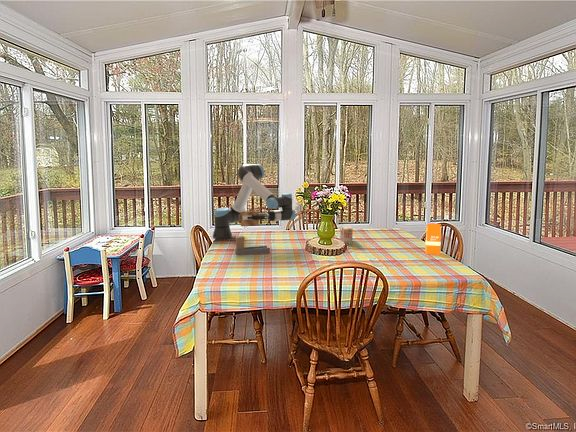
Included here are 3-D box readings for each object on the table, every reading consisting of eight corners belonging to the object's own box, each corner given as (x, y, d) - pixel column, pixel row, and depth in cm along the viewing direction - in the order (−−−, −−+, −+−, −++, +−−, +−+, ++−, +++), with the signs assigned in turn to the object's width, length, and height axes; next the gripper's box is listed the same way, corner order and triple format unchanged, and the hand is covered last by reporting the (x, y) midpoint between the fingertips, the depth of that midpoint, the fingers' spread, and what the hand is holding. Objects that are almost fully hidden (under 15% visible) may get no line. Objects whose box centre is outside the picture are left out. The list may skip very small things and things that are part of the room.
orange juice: (440, 254, 300) (441, 224, 297) (426, 254, 302) (427, 224, 299) (438, 251, 308) (440, 222, 305) (425, 251, 310) (426, 222, 307)
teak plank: (239, 226, 316) (239, 212, 315) (238, 225, 320) (238, 211, 318) (258, 225, 320) (258, 211, 319) (257, 224, 324) (257, 210, 322)
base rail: (237, 255, 301) (237, 238, 299) (235, 252, 309) (234, 236, 308) (269, 252, 307) (269, 236, 305) (266, 249, 316) (266, 234, 314)
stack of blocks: (340, 239, 350) (340, 223, 348) (348, 239, 350) (348, 223, 349) (343, 245, 329) (344, 228, 327) (352, 245, 329) (352, 228, 327)
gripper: (277, 222, 317) (244, 224, 310) (271, 219, 333) (239, 220, 326) (277, 212, 316) (244, 213, 309) (270, 208, 332) (239, 210, 325)
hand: (242, 217), depth 318 cm, fingers closed on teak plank, 4 cm apart
